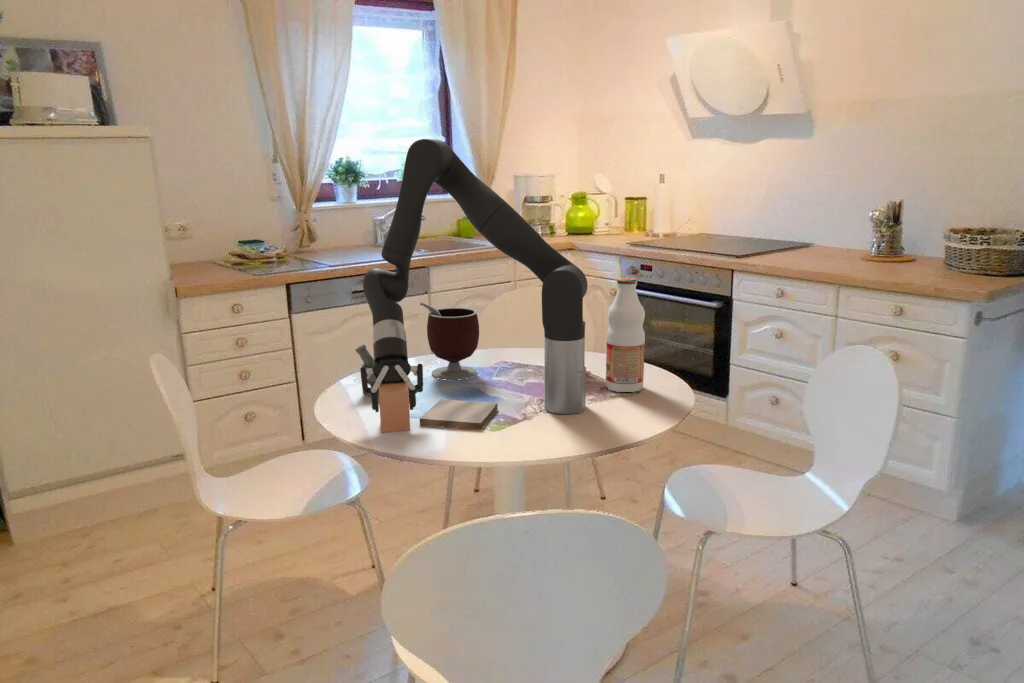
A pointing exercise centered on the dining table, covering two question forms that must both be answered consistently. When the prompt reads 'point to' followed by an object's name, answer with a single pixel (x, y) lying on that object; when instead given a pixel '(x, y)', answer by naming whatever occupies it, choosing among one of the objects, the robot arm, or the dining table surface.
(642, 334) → the fruit juice
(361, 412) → the dining table surface
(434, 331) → the mate gourd
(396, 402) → the tall tan upright block
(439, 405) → the walnut board
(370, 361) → the mortar and pestle
